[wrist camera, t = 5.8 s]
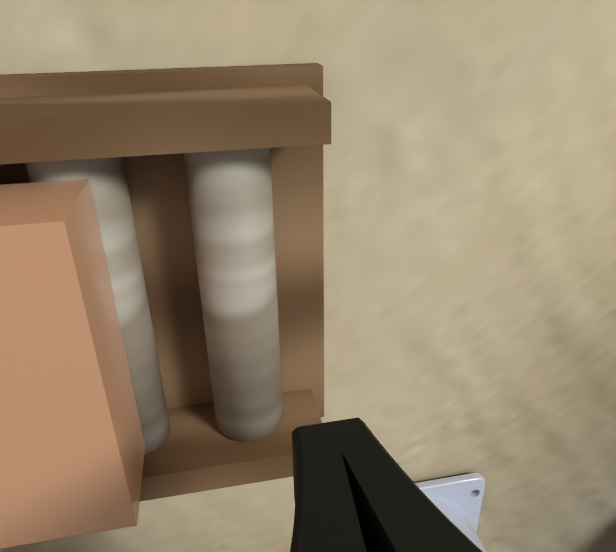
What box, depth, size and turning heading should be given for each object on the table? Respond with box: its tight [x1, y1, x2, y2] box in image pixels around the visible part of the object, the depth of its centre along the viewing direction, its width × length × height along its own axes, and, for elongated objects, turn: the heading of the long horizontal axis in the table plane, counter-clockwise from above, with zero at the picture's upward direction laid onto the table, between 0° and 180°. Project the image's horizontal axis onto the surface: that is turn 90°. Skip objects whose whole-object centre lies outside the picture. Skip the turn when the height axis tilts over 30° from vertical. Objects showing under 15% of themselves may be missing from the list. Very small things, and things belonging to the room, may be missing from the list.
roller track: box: [0, 63, 331, 501], centre depth 15 cm, size 13×18×7 cm
